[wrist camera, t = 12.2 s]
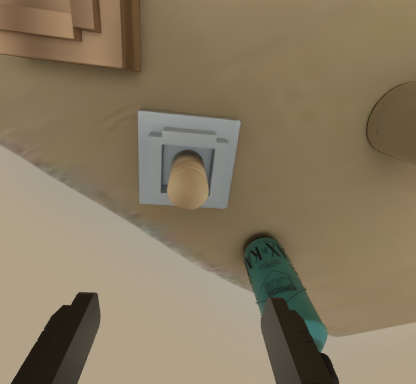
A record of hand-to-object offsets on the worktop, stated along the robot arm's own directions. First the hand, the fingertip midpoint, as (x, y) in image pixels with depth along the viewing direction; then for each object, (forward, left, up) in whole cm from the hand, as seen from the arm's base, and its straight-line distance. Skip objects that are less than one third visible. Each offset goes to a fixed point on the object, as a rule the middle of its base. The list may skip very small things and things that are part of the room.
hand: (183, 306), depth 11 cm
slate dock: (0, 0, -23) cm, 23 cm away
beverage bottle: (-13, +14, -23) cm, 30 cm away
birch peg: (0, 0, -21) cm, 21 cm away
